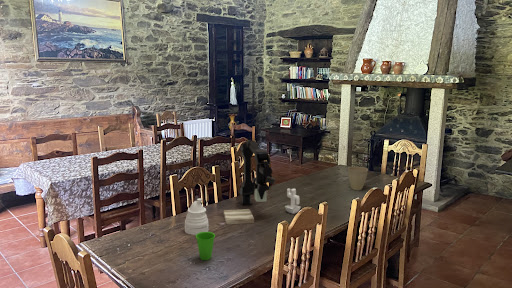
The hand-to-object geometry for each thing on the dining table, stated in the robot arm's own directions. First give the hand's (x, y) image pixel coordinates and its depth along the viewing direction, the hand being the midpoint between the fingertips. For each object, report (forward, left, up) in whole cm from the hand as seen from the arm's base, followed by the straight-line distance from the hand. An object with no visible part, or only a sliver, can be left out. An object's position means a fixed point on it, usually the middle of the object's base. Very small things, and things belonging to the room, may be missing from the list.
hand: (260, 197), depth 232 cm
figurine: (-4, +22, -12) cm, 25 cm away
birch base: (+2, -13, -12) cm, 18 cm away
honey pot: (+16, -38, -12) cm, 43 cm away
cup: (+49, -35, -12) cm, 61 cm away
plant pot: (-46, +84, -12) cm, 96 cm away
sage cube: (0, 0, -2) cm, 2 cm away
